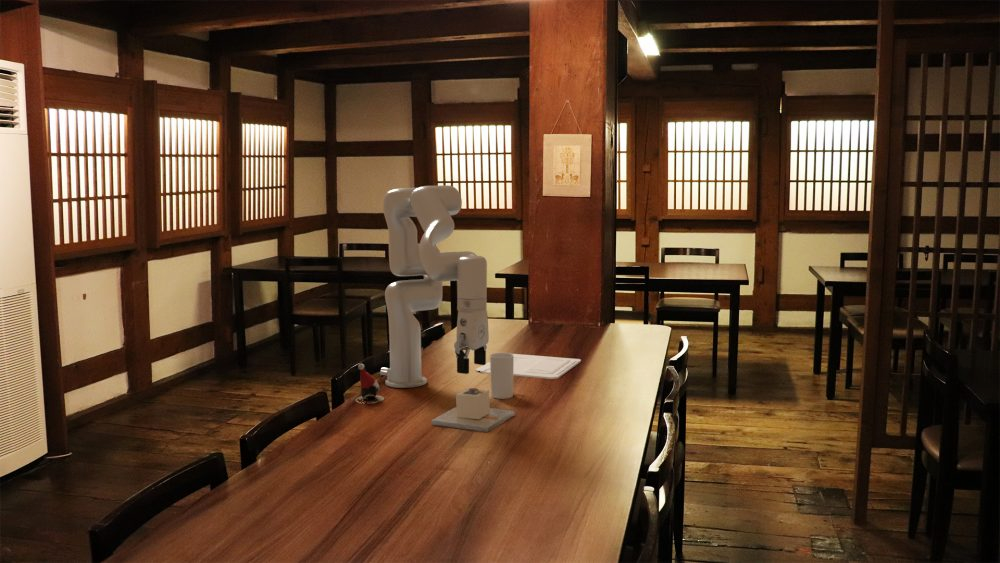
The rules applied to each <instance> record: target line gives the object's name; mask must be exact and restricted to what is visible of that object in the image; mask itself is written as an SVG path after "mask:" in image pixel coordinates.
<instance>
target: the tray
mask: <svg viewBox="0 0 1000 563" xmlns="http://www.w3.org/2000/svg"><path fill="white" fill-rule="evenodd" d="M512 354H513V355H514V365H513V377H521V378H522V377H523V378H535V379H544V380H546V379H547V380H557V379H560V378H561V377H562V376H563V375H565V374H566V373H568V372H569V371H570V370H571V369H573V368H574V367H576V366H577V365H578V364H580V363H581V362H582V359H580V358H569V357H557V356H556V357H555V356H545V355H544V356H543V355H534V354H533V355H531V354H519V353H512ZM476 371H477V372H478V371H480V373H481V374H489V375H491V371H490V361H487V362H486V364H485V365H480V366H478V367H476V368H475V372H476Z"/></svg>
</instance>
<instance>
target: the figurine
mask: <svg viewBox="0 0 1000 563" xmlns="http://www.w3.org/2000/svg"><path fill="white" fill-rule="evenodd" d="M357 367H358V368H357V369H358V370H360V373H359V382H360V387H361V388H360V392H361V396H358V397H356V398H355V399H354V401H355V402H356V403H358V404H362V403H363V404H362V405H364V404H365V403H364V402H362V403H361V402H359V401H358V399H359V400H361V399H362V401H366V402H367V404H369V405H370V404H376V403H379V402H380V403H381V402H383V401H384V400H385V397H384V396H381V395H377V394H378V393H379V392H380V389H381V388H380V385H379V382H378V380H377V378H376V376H373V375H371V374H370V373H369V372H367V371H366V369H365V364H363V363H359V364H358V366H357ZM366 397H368V398H366ZM370 398H371V399H370ZM373 398H374V399H373ZM365 405H366V404H365Z"/></svg>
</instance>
